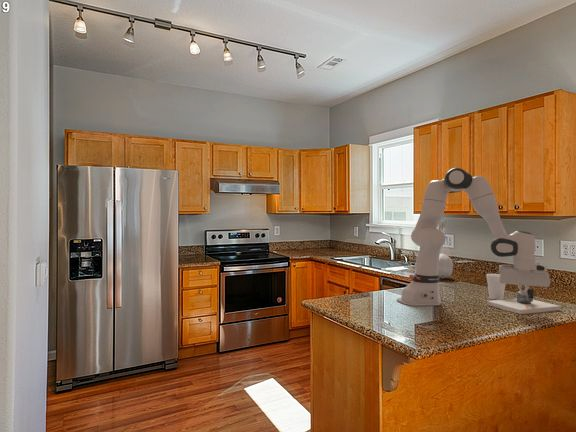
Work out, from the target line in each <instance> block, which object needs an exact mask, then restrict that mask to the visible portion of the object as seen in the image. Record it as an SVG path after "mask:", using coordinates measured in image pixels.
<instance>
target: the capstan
mask: <svg viewBox="0 0 576 432" xmlns="http://www.w3.org/2000/svg"><path fill="white" fill-rule="evenodd" d="M534 290H535V289H533V288H529V289H528V290H527V291H526V295H521V294H520V290H518V291H516V299H517V302H519V303H524V304H531V302H533V300H534V299H535V297H534V295H535V294H534V293H535V292H534Z"/></svg>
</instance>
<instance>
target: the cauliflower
mask: <svg viewBox="0 0 576 432" xmlns="http://www.w3.org/2000/svg"><path fill="white" fill-rule="evenodd" d="M414 269H415V270H416V261H415V263H414ZM453 269H454V263H453V260H452V259H451V257H450V256H449V255H447V254H445V253H440V256H439V262H438V275H439V280H441V279H446V278H449V277H451V275H452V273H453Z"/></svg>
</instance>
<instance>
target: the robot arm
mask: <svg viewBox="0 0 576 432" xmlns="http://www.w3.org/2000/svg"><path fill="white" fill-rule="evenodd" d="M462 191H464V192H465V193H466V194H467V195H468V198H469V201H470V203H471V206H472V207H473V209H474V210H475V212H476V214H478V215H479V216H480V217H482V218H483V219H484V221H486V223H487V226H488V227H489V230H490V232H491V234H492V236H493V241H492V242H491V243H490V251H491V252H492V254H494V255H495V256H496V257H499V258H506V257H512V264H505V263H504V264H503V263H502V264H500V265H499V266H498V274H499V282H500V283H502V284H505V285H514V286H517V288H518V290H519V291H520V294H521V295H526V292H528V289H530V287H540V288H541V287H542V288H543V287H544V288H548V287H550V285H551V279H550V274H549V272H547V271H548V267H547V266H546V265H544V264H541V263H538V262H536V257H535V253H536V237H535V236H534V234H533V233H531V232H529V231H523V230H515V231H514V232H512V233H510V234H508V232H507V229H506V228H505V226H504V223H503V221H502V219H501V216H500V210H499V205H498V201H497V198H496V194H495V193H494V190H493V188H492V186H491V184H490V182H489V181H488V180H487V178H486V177H484V176H482V175H475V176H472V175H471V174H470V173H468V171H466V170H464V169H463V168H460V167H454V168H451V169H449V170H448V171H447V172H446V173H445V175H444V178H443V179H440V180H439V179H436V180H435V179H433V180H431V181H429V182H428V184H427V186H426V189H425V192H424V196H423V201H422V206H421V210H420V214H419V217H418V220H417V222H416V224H415V227H414V229H413V230H412V232H411V235H410V238H411V241H412V242H413V243H414V245H416V246H418V247H419V250H418V254H417V257H415V262H416V269H415V273H414V275H413V274H409V275H408V278H409V279H412V281H411V282H410V283H408V284H407V285H405V287H403V288H402V291H401V296H400V297H397V298H396V301H397V302H399V303H401V304H404V305H407V306H412V307H421V306H422V307H424V306H425V307H426V306H441V303H442V300H441V296H440V289H439V282H440V278H439V275H438V262H439V256H440V254H441V251H442V249H443V246H444V245H445V243H446V234H445V233H444V232H443V231H442V230H440V229H439V228H438V226H439V224H440V223H441V220H443V218H444V212H445V208H446V203H447V199H448V195H449V194H453V193H459V192H462ZM523 286H524V287H525V289H524V290H523V289H522V288H523Z"/></svg>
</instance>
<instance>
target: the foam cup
mask: <svg viewBox="0 0 576 432" xmlns="http://www.w3.org/2000/svg"><path fill="white" fill-rule="evenodd" d="M499 274H500V273H487V274H486V281H487V282H486V283H487V289H488V290H487V291H488V297H489V300H491V301H493V300H504V296H505V295H504V294H505V290H506V289H505V288H506V284H502V283H500V282H499Z"/></svg>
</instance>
